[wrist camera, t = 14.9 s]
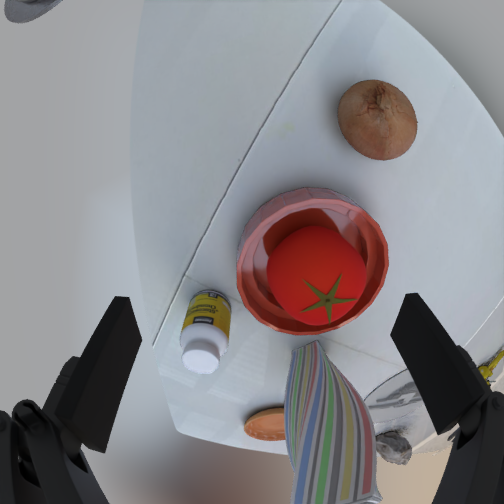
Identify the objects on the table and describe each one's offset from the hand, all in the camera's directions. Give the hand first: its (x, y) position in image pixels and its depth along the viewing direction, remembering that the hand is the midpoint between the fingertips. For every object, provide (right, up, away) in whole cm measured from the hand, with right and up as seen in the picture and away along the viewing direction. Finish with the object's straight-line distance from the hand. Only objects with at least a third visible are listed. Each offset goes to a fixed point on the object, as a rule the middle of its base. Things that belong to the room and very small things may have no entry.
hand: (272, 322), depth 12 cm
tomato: (+7, +3, +25) cm, 26 cm away
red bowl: (+7, +3, +26) cm, 27 cm away
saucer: (+5, -37, +46) cm, 59 cm away
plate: (+40, -35, +45) cm, 70 cm away
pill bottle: (-7, -5, +30) cm, 31 cm away
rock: (+47, -61, +58) cm, 96 cm away
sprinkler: (+76, -37, +47) cm, 97 cm away
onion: (+13, +20, +18) cm, 30 cm away
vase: (+9, -15, +35) cm, 39 cm away
